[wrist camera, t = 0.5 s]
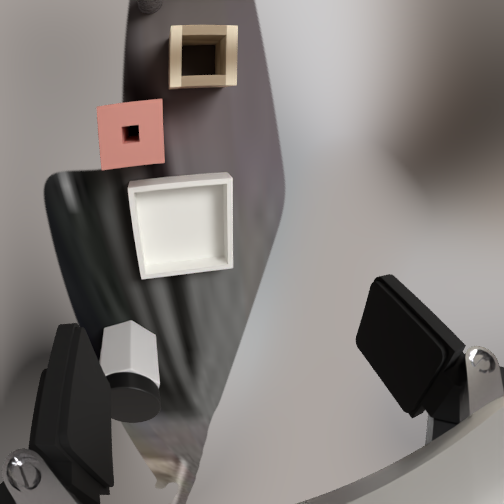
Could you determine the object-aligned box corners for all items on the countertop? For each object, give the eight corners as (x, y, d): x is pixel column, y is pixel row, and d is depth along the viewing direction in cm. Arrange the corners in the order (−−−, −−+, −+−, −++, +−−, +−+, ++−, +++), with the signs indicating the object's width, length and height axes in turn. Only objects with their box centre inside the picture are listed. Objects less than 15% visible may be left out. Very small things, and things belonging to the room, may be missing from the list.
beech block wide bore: (169, 37, 26) (171, 25, 21) (224, 37, 28) (237, 25, 23) (168, 89, 29) (170, 87, 24) (223, 87, 31) (236, 85, 25)
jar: (103, 315, 39) (95, 381, 29) (159, 323, 43) (165, 388, 32) (101, 358, 43) (97, 421, 33) (151, 364, 46) (156, 426, 36)
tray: (129, 181, 33) (127, 187, 30) (227, 171, 35) (232, 178, 33) (142, 267, 38) (141, 279, 35) (228, 257, 41) (233, 267, 38)
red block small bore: (107, 105, 28) (96, 106, 23) (162, 98, 29) (162, 98, 24) (111, 158, 31) (101, 170, 26) (163, 151, 32) (164, 162, 27)
